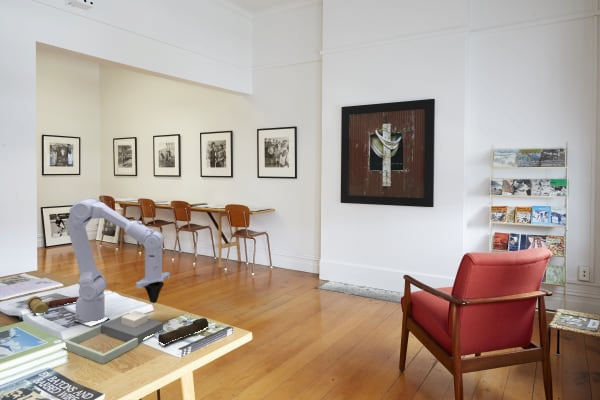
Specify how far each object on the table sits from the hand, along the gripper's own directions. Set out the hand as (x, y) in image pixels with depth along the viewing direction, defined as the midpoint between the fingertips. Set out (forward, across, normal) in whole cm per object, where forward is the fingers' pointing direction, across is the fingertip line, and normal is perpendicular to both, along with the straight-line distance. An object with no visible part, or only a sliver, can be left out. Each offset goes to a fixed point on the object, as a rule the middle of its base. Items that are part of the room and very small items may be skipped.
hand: (153, 302), depth 148 cm
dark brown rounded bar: (+8, -2, -17) cm, 19 cm away
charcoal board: (+8, -10, 0) cm, 12 cm away
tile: (+5, -8, 0) cm, 10 cm away
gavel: (+8, -7, +40) cm, 41 cm away
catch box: (+8, -22, 0) cm, 23 cm away
